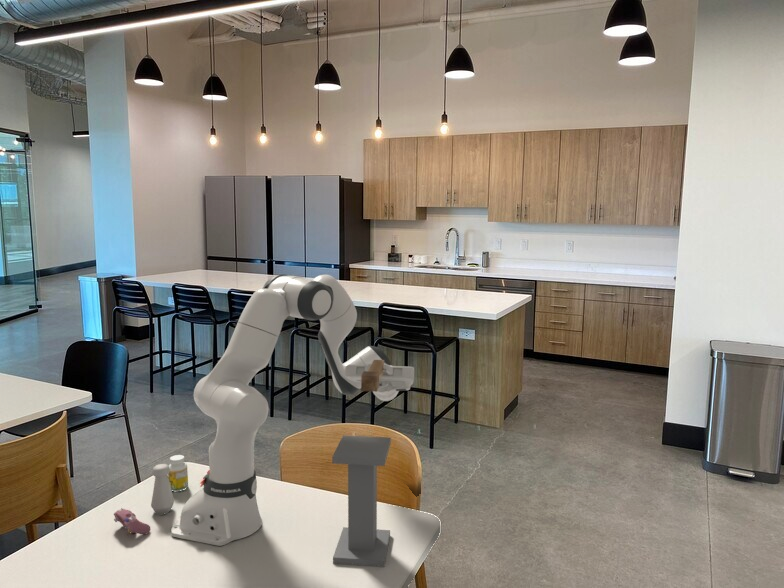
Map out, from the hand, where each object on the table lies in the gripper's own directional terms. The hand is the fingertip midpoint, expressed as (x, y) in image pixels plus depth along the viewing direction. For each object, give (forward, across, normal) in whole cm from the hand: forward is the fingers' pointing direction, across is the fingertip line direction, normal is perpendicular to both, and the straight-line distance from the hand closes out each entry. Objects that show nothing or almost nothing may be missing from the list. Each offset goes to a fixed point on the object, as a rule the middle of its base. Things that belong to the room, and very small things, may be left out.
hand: (377, 366), depth 159 cm
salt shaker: (-6, -57, +41) cm, 71 cm away
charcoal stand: (+4, 0, +47) cm, 47 cm away
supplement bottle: (-17, -59, +35) cm, 71 cm away
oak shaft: (+4, 0, +5) cm, 7 cm away
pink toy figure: (+2, -60, +46) cm, 76 cm away
